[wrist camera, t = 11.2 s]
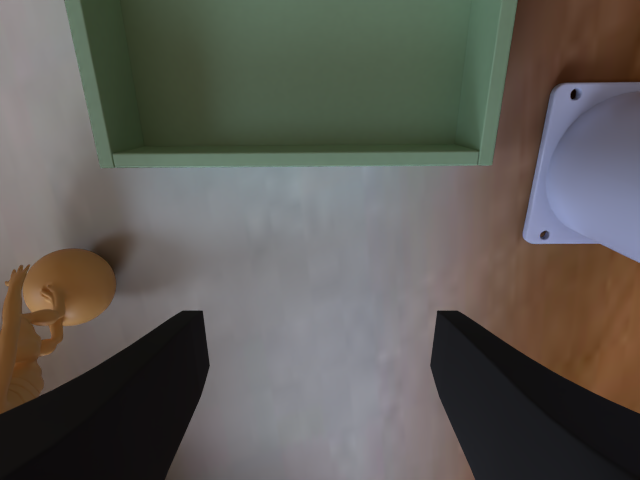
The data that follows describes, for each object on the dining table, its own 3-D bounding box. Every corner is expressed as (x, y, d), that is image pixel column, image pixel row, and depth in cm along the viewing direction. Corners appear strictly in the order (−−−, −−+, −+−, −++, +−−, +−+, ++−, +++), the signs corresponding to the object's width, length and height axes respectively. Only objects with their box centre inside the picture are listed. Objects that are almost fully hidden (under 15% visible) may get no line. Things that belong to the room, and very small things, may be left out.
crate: (498, -162, 14) (558, -253, 11) (459, 154, 18) (492, 165, 15) (88, -158, 14) (10, -247, 11) (142, 156, 18) (99, 168, 15)
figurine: (64, 192, 19) (-306, 313, 8) (177, 225, 20) (-14, 381, 8) (54, 320, 22) (-230, 548, 11) (153, 346, 22) (-14, 587, 11)
